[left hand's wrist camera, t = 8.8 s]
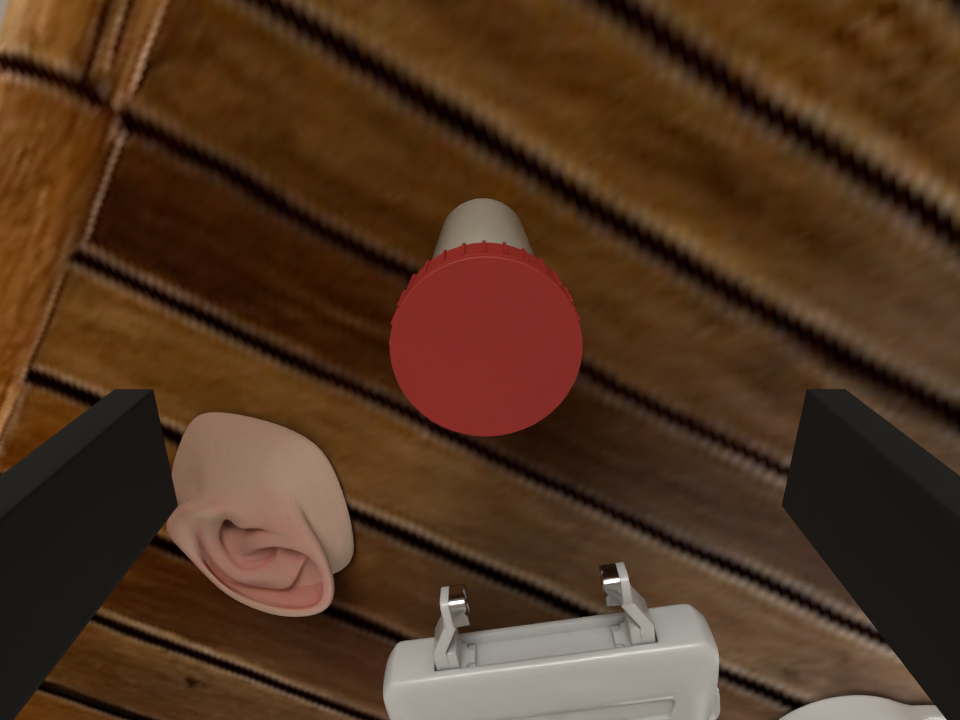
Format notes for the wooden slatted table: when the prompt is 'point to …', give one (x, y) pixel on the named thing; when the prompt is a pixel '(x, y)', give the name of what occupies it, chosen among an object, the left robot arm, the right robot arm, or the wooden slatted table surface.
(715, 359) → the wooden slatted table surface
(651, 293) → the wooden slatted table surface
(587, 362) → the wooden slatted table surface
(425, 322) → the lid
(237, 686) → the wooden slatted table surface
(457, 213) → the white cylindrical bottle
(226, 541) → the anatomical model
